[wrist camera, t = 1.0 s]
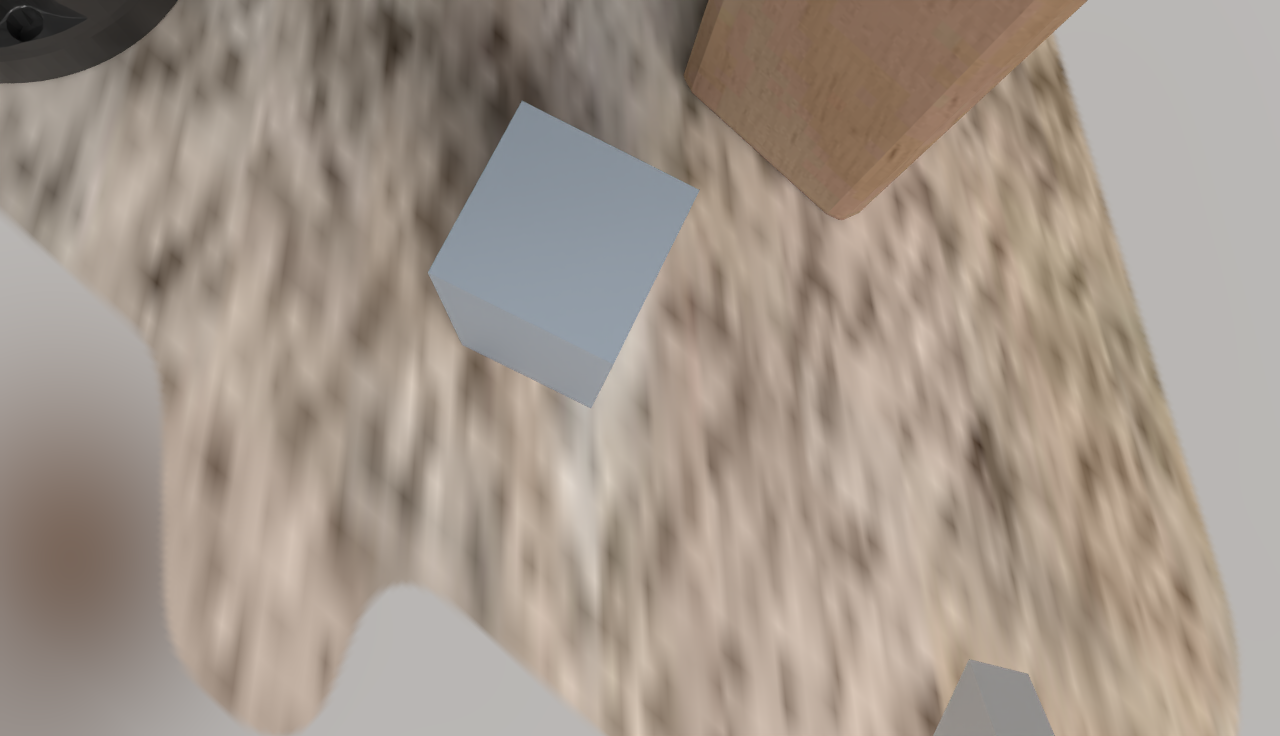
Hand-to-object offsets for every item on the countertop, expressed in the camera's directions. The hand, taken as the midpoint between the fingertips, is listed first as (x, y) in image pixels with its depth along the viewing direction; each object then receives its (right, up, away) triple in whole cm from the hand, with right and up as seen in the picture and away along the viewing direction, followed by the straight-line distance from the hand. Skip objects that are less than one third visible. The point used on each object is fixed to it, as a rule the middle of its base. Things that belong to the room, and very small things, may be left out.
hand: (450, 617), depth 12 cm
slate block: (-1, +6, +27) cm, 28 cm away
